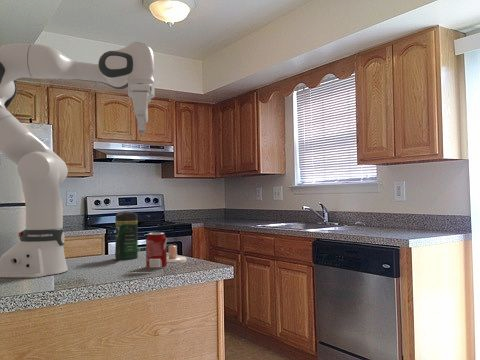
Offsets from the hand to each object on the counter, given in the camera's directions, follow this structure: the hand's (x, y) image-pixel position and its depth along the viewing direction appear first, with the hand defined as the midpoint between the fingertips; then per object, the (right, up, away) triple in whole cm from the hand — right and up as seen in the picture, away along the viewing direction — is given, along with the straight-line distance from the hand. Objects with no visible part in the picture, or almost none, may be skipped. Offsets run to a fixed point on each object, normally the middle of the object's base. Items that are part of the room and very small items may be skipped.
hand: (141, 131), depth 145 cm
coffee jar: (-10, -47, +20) cm, 52 cm away
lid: (+9, -46, +12) cm, 48 cm away
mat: (+9, -47, +12) cm, 49 cm away
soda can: (+5, -47, -1) cm, 47 cm away
